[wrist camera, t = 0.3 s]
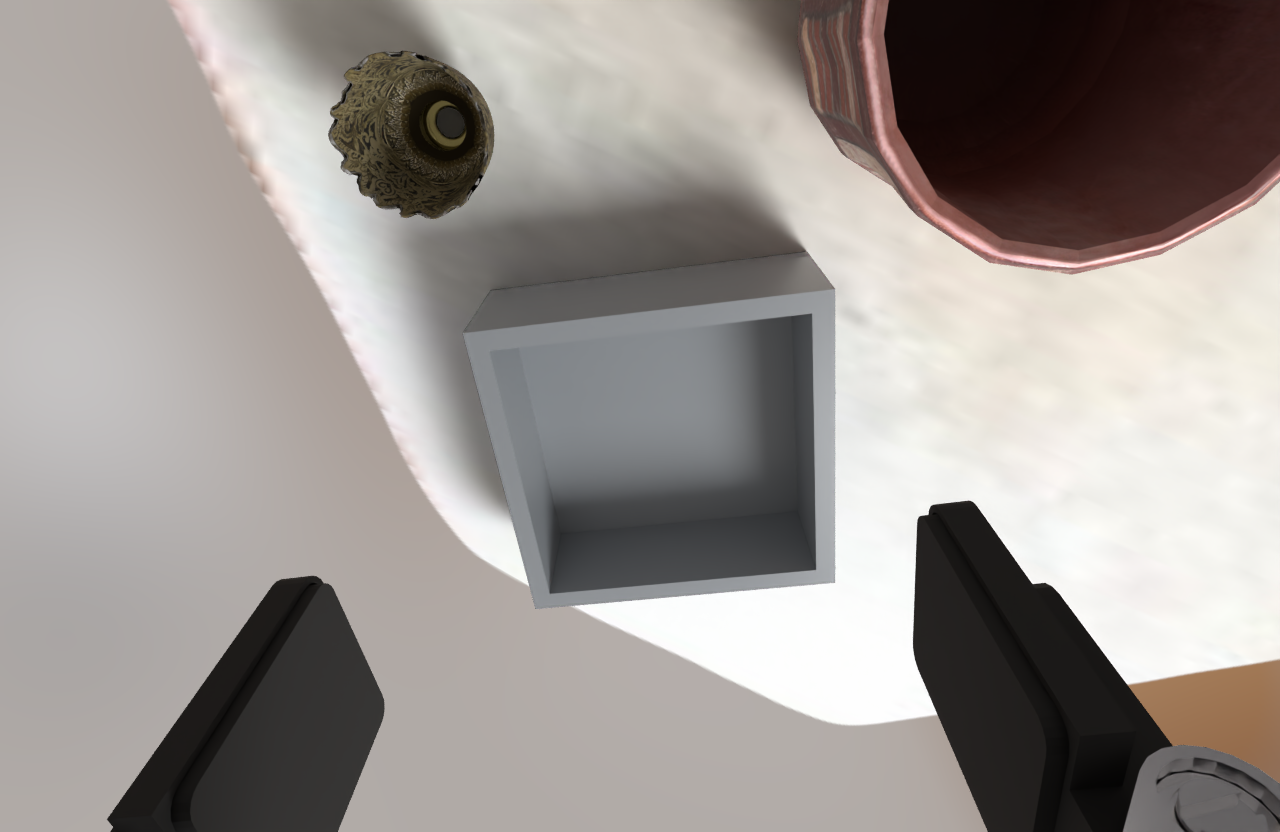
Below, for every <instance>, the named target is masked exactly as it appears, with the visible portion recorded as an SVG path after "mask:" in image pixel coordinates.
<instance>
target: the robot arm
mask: <svg viewBox="0 0 1280 832" xmlns="http://www.w3.org/2000/svg"><path fill="white" fill-rule="evenodd" d="M913 650H914V656H915V661H916V664H917V667H918V670H919V672H920V675H921V677H922V679H923V682H924V684H925V686H926V689H927V691H928V693H929V696H930V698H931V700H932V703H933V705H934V707H935V710H936V712H937V714H938V717H939V719H940V721H941V724H942V726H943V728H944V731H945V733H946V735H947V738H948V740H949V742H950V745H951V747H952V749H953V751H954V754H955V756H956V758H957V761H958V763H959V766H960V768H961V770H962V772H963V775H964V777H965V779H966V782H967V784H968V786H969V789H970V791H971V793H972V796H973V798H974V800H975V803H976V805H977V807H978V810H979V812H980V814H981V817H982V819H983V821H984V824H985V826H986V828H987V831H988V832H1280V783H1278V782H1277V781H1275V780H1274V779H1273V778H1271V777H1270V776H1268V775H1267V774H1266V773H1264V772H1263V771H1261V770H1260V769H1259V768H1257V767H1255V766H1253V765H1251V764H1248V763H1247V762H1245V761H1243V760H1241V759H1239V758H1236V757H1235V756H1233V755H1230V754H1226V753H1223V752H1220V751H1216V750H1213V749H1210V748H1207V747H1197V746H1188V745H1178V746H1172V744H1171V743H1170V742H1169V740H1168V739H1167V738H1166V736H1165V735H1164V734H1163V732H1162V731H1161V730H1160V728H1159V727H1158V726H1157V724H1156V723H1155V721H1154V720H1153V719H1152V717H1151V716H1150V715H1149V713H1148V712H1147V711H1146V709H1145V708H1144V707H1143V705H1142V704H1141V703H1140V701H1139V700H1138V699H1137V698H1136V696H1135V695H1134V693H1133V692H1132V691H1131V689H1130V688H1129V687H1128V685H1127V684H1126V683H1125V681H1124V680H1123V679H1122V677H1121V676H1120V675H1119V673H1118V672H1117V671H1116V669H1115V668H1114V667H1113V665H1112V664H1111V663H1110V661H1109V660H1108V659H1107V657H1106V656H1105V655H1104V653H1103V652H1102V651H1101V649H1100V648H1099V647H1098V645H1097V644H1096V643H1095V641H1094V640H1093V639H1092V637H1091V636H1090V634H1089V633H1088V632H1087V630H1086V629H1085V628H1084V626H1083V625H1082V624H1081V622H1080V621H1079V620H1078V618H1077V617H1076V616H1075V614H1074V613H1073V612H1072V610H1071V609H1070V608H1069V606H1068V605H1067V604H1066V602H1065V601H1064V600H1063V598H1062V597H1061V596H1060V594H1059V593H1058V592H1057V591H1056V590H1055V589H1054V588H1053V587H1052V586H1050V585H1048V584H1046V583H1040V584H1032V583H1031V582H1030V580H1029V579H1028V577H1027V576H1026V575H1025V573H1024V572H1023V570H1022V569H1021V568H1020V566H1019V565H1018V563H1017V562H1016V561H1015V559H1014V558H1013V556H1012V555H1011V554H1010V552H1009V551H1008V549H1007V548H1006V547H1005V545H1004V544H1003V542H1002V541H1001V539H1000V538H999V537H998V535H997V534H996V532H995V531H994V530H993V528H992V527H991V525H990V524H989V523H988V521H987V520H986V518H985V517H984V516H983V514H982V513H981V511H980V510H979V509H978V507H977V506H976V505H975V504H974V503H973V502H972V501H962V502H953V503H945V504H936V505H932V506H931V507H930V509H929V515H925V516H920V517H919V518H918V522H917V544H916V572H915V601H914V629H913ZM383 716H384V699H383V696H382V693H381V691H380V689H379V687H378V685H377V682H376V680H375V678H374V676H373V674H372V672H371V669H370V667H369V665H368V663H367V661H366V659H365V656H364V655H363V652H362V650H361V648H360V646H359V643H358V642H357V639H356V637H355V635H354V633H353V630H352V629H351V626H350V624H349V622H348V620H347V617H346V615H345V613H344V611H343V609H342V607H341V605H340V602H339V600H338V598H337V596H336V594H335V591H334V589H333V588H332V586H331V585H329V584H324V583H323V582H322V580H321V579H319V578H318V577H317V576H307V577H298V578H289V579H281V580H279V581H277V582H276V583H275V584H274V585H273V586H272V587H271V589H270V590H269V591H268V593H267V594H266V596H265V597H264V598H263V600H262V601H261V603H260V604H259V606H258V607H257V608H256V610H255V611H254V613H253V614H252V615H251V617H250V618H249V620H248V621H247V623H246V624H245V625H244V627H243V628H242V629H241V631H240V632H239V634H238V635H237V637H236V638H235V640H234V641H233V642H232V644H231V645H230V646H229V648H228V649H227V651H226V652H225V653H224V655H223V656H222V658H221V659H220V660H219V662H218V663H217V665H216V666H215V668H214V669H213V671H212V672H211V673H210V675H209V676H208V677H207V679H206V680H205V682H204V683H203V685H202V686H201V687H200V689H199V690H198V692H197V693H196V694H195V696H194V698H193V699H192V700H191V702H190V703H189V704H188V706H187V707H186V708H185V710H184V711H183V713H182V714H181V716H180V717H179V718H178V720H177V721H176V723H175V724H174V725H173V727H172V728H171V730H170V731H169V733H168V734H167V735H166V737H165V738H164V740H163V741H162V742H161V744H160V745H159V747H158V748H157V749H156V751H155V752H154V754H153V755H152V757H151V758H150V759H149V761H148V762H147V764H146V765H145V766H144V768H143V769H142V771H141V772H140V774H139V775H138V776H137V778H136V779H135V781H134V782H133V783H132V785H131V786H130V788H129V789H128V790H127V792H126V793H125V795H124V796H123V797H122V799H121V800H120V802H119V803H118V805H117V806H116V807H115V809H114V810H113V812H112V813H111V814H110V816H109V817H108V819H107V820H108V821H109V822H110V824H111V825H112V826H113V829H112V830H111V832H338V830H339V827H340V825H341V822H342V819H343V817H344V815H345V812H346V810H347V807H348V805H349V802H350V800H351V797H352V795H353V792H354V790H355V787H356V785H357V782H358V780H359V777H360V775H361V772H362V769H363V767H364V765H365V762H366V760H367V757H368V755H369V752H370V750H371V747H372V745H373V742H374V740H375V737H376V735H377V732H378V730H379V728H380V725H381V722H382V719H383Z"/></svg>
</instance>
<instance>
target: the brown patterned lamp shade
mask: <svg viewBox="0 0 1280 832" xmlns="http://www.w3.org/2000/svg"><path fill="white" fill-rule="evenodd" d="M344 79H346V80H347V82H349V83H348V85H347V87H346V88H345V89H344V90H343V91H342V98H341V101H340V102H338V103H337V105H335V106H333V107H332V108H331V111H330V115H331V117H333V118H334V119H335V120H334V122H333V124H332V126H331V128H330V130H329V133H328V136H329V140H330V142H331V144H332V145H333V146H334V148H335V149H337V150H338V151H339V152H340V153H341V154H342V155H343V157H344V160H343V161H342V162H341V169H342V170H343V171H344V172H346V173H347V174H349V175H352V174H353V175H357V176H358V178H357V184H358V186H359V191H360V193H361V194H362V195H364V196H369V197H371V198H373V201H374V202H375V204H376V206H378V207H379V208H382V209H396V208H400V210H401V212H400V213H399V214H400V215H401V217H404V218H409V217H411V216H414V215H417V214H418V215H422V216H424V217H425V218H428V219H436V218H439V217H441V216H443V215H445V214H447V213H449V212H450V211H452V210H453V209H455V208H459V207H461V206H462V205H464V204H465V203H466V202H467V201H468V200H469V197H470V196H471V194H472V193H473V192H474V190H475V189H476V188H477V186H478V185H479V183H480V181H481V179H482V177H483V176H484V174H485V172H486V169H487V167H488V165H489V162H490V160H491V156H492V153H493V147H494V126H493V120H492V116H491V113H490V110H489V108H488V105H487V103H486V101H485V99H484V98H483V96H482V94H481V93H480V92H479V90H478V89H477V88H476V87H475V85H474V84H473V83H472V82H471V81H470V80H469V79H467V78H466V77H465V76H464V75H463V74H461V73H460V72H459V71H457V70H455V69H454V68H452V67H450V66H448V65H446V64H444V63H441V62H439V61H437V60H434V59H431V58H429V57H427V56H422V55H419V54H417V53H414V52H408V51H401V52H380V53H375V54H372V55H369V56H367V57H366V58H365V59H364V60H363V61H362V62H360V63H359V64H358V66H357V67H352V68H351V69H349V70H348V71H347V72H346V73H345V75H344ZM447 107H451V108H454V109H456V110H458V111H459V112H460V113H461V114H462V116H463V118H464V121H465V128H464V131H463V133H462V134H461V135H460V136H459V137H456V138H448V137H446V136H444V135H443V134H442V133H441V132H440V131H439V129H438V127H437V124H436V118H437V114H438V113H439V111H440V110H442V109H443V108H447Z"/></svg>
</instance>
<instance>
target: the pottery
mask: <svg viewBox="0 0 1280 832" xmlns="http://www.w3.org/2000/svg"><path fill="white" fill-rule="evenodd" d="M797 41H798V46H799V51H800V56H801V61H802V66H803V71H804V76H805V81H806V86H807V91H808V96H809V101H810V106H811V107H812V109H813V110H814V112H815V114H816V115H817V117H818V118H819V120H820V121H821V123H822V124H823V126H824V127H825V129H826V131H827V132H828V134H829V135H830V137H831V138H832V140H833V141H834V143H835V144H836V146H837V147H838V149H839V151H840V152H841V153H842V154H843V155H844V156H845V157H847V158H848V159H850V160H852V161H853V162H855V163H856V164H858V165H859V166H861V167H863V168H864V169H866V170H867V171H869V172H870V173H872V174H874V175H875V176H877V177H878V178H880V179H881V180H883V181H885V182H886V183H888V184H889V185H891V186H892V187H893V188H894V189H895V190H896V192H897V193H898V194H899V195H900V197H901V198H902V199H903V200H904V202H905V203H906V204H907V205H908V207H909V208H910V209H911V210H912V211H913V212H914V213H915V214H916V215H917V216H918V217H920V218H921V219H923V220H925V221H926V222H928V223H929V224H931V225H932V226H934V227H935V228H937V229H938V230H940V231H942V232H943V233H945V234H946V235H948V236H949V237H951V238H952V239H954V240H955V241H957V242H958V243H960V244H962V245H963V246H965V247H966V248H968V249H969V250H971V251H972V252H974V253H975V254H977V255H979V256H980V257H982V258H983V259H985V260H986V261H988V262H989V263H996V264H1003V265H1010V266H1017V267H1024V268H1031V269H1038V270H1045V271H1052V272H1059V273H1066V274H1076V273H1081V272H1085V271H1090V270H1094V269H1099V268H1103V267H1107V266H1112V265H1116V264H1121V263H1125V262H1130V261H1134V260H1139V259H1143V258H1147V257H1152V256H1156V255H1160V254H1162V253H1164V252H1166V251H1168V250H1170V249H1172V248H1174V247H1176V246H1177V245H1179V244H1181V243H1183V242H1185V241H1187V240H1189V239H1191V238H1193V237H1194V236H1196V235H1198V234H1200V233H1202V232H1204V231H1206V230H1208V229H1210V228H1211V227H1213V226H1215V225H1217V224H1219V223H1221V222H1223V221H1225V220H1226V219H1228V218H1230V217H1232V216H1234V215H1236V214H1238V213H1240V212H1242V211H1243V210H1245V209H1247V208H1249V207H1251V206H1253V205H1255V204H1256V203H1257V202H1258V201H1259V200H1260V199H1261V198H1262V197H1263V196H1265V195H1266V194H1267V193H1268V192H1269V191H1270V190H1271V189H1272V188H1273V187H1274V186H1275V185H1276V184H1278V183H1279V182H1280V0H801V6H800V16H799V26H798V36H797Z"/></svg>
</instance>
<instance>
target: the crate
mask: <svg viewBox="0 0 1280 832" xmlns="http://www.w3.org/2000/svg"><path fill="white" fill-rule="evenodd" d="M463 337H464V340H465V344H466V348H467V352H468V356H469V359H470V363H471V367H472V371H473V375H474V378H475V382H476V386H477V390H478V393H479V397H480V401H481V405H482V409H483V412H484V416H485V420H486V424H487V427H488V431H489V435H490V439H491V443H492V446H493V450H494V454H495V458H496V462H497V465H498V469H499V473H500V477H501V480H502V484H503V488H504V492H505V496H506V499H507V503H508V507H509V511H510V515H511V518H512V522H513V526H514V530H515V533H516V537H517V541H518V545H519V549H520V552H521V556H522V560H523V564H524V567H525V571H526V575H527V579H528V583H529V586H530V590H531V594H532V597H533V602H534V605H535V609H541V608H552V607H563V606H575V605H587V604H598V603H609V602H621V601H632V600H643V599H655V598H666V597H677V596H689V595H700V594H712V593H723V592H734V591H746V590H757V589H768V588H780V587H791V586H802V585H814V584H825V583H835V288H834V287H833V286H832V284H831V283H830V282H829V280H828V279H827V278H826V276H825V275H824V274H823V272H822V271H821V270H820V268H819V267H818V266H817V264H816V263H815V262H814V260H813V259H812V257H811V256H810V255H809V253H808V252H799V253H791V254H783V255H775V256H767V257H759V258H751V259H742V260H734V261H726V262H718V263H710V264H702V265H694V266H685V267H677V268H669V269H661V270H653V271H645V272H637V273H629V274H620V275H612V276H604V277H596V278H588V279H580V280H572V281H563V282H555V283H547V284H539V285H531V286H523V287H515V288H507V289H498V290H491V291H490V292H489V294H488V295H487V297H486V298H485V300H484V301H483V303H482V304H481V306H480V308H479V309H478V311H477V312H476V314H475V315H474V317H473V318H472V320H471V321H470V323H469V324H468V326H467V327H466V329H465V330H464V332H463Z"/></svg>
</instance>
